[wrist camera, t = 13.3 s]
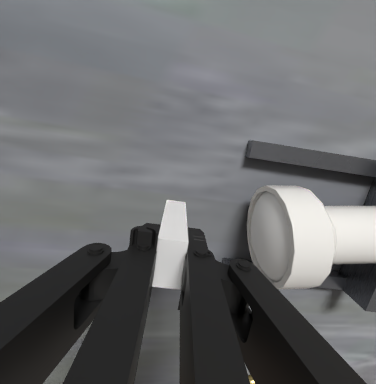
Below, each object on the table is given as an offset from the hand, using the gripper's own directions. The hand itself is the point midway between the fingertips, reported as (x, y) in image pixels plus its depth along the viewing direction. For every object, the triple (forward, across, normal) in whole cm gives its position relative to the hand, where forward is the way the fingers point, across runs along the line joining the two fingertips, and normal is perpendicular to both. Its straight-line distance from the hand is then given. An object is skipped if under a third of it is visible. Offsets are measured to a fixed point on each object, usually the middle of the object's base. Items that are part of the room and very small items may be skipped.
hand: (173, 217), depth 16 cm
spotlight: (+3, +12, 0) cm, 13 cm away
